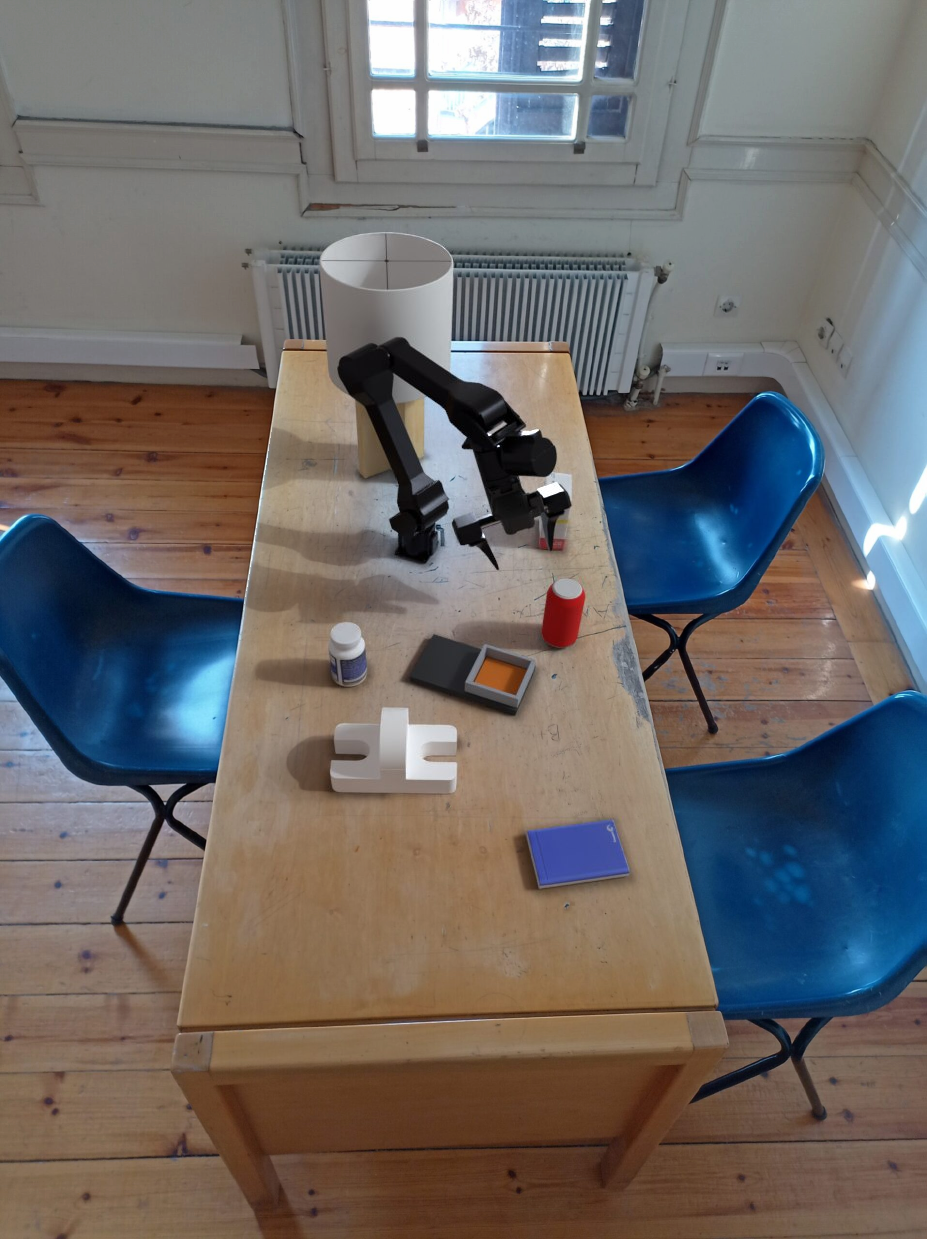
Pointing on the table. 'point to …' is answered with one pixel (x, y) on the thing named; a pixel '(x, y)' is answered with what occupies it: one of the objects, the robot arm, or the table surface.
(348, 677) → the pill bottle
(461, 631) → the table surface
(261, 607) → the table surface
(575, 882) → the hard drive
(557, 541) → the ink box
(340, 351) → the lamp
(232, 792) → the table surface
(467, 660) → the black tray with frame
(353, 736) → the white slotted fin bracket
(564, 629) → the beverage can
